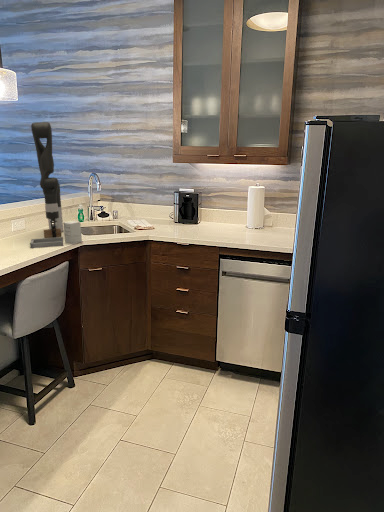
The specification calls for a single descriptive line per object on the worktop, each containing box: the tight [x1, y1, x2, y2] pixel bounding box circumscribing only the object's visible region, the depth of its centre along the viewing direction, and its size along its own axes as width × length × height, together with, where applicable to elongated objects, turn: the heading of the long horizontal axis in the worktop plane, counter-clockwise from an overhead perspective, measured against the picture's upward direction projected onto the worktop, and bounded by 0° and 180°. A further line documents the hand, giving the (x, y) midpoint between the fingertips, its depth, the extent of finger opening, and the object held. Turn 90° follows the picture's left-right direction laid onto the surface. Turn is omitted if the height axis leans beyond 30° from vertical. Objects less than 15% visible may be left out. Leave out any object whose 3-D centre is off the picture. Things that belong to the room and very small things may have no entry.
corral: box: [29, 236, 64, 249], centre depth 237 cm, size 14×18×2 cm
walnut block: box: [43, 228, 63, 238], centre depth 249 cm, size 4×10×6 cm, turn 113°
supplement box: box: [63, 220, 83, 245], centre depth 240 cm, size 7×7×13 cm
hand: (54, 237), depth 249 cm, fingers closed on walnut block, 4 cm apart
